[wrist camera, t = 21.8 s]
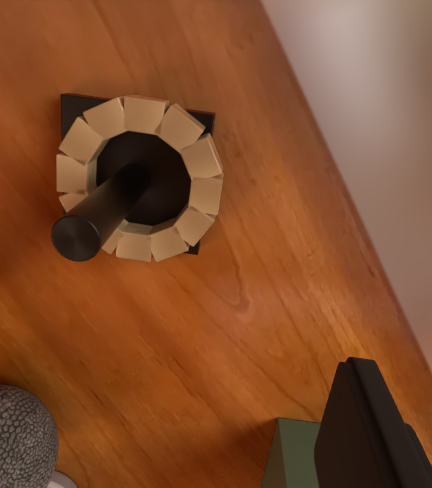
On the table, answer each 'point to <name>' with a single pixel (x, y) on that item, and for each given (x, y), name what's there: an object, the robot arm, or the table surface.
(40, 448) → the decorative ball
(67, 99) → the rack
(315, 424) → the block
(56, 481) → the travel mug
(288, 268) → the table surface
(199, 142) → the ring
